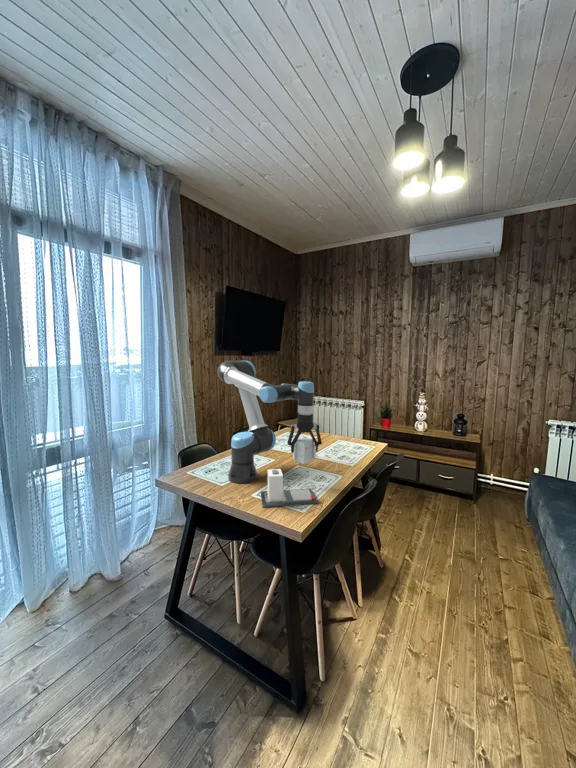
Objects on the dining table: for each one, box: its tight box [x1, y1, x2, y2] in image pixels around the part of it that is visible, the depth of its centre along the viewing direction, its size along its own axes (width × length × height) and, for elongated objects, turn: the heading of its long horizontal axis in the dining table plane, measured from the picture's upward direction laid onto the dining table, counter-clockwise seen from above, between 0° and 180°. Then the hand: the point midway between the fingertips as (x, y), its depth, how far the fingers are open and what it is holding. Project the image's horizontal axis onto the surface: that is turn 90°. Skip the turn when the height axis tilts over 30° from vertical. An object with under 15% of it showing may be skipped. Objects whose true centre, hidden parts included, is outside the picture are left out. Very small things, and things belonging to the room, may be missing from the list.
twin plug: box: [267, 468, 284, 501], centre depth 137 cm, size 6×8×12 cm
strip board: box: [260, 488, 318, 508], centre depth 139 cm, size 24×12×2 cm, turn 99°
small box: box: [294, 437, 315, 465], centre depth 151 cm, size 8×6×10 cm
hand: (304, 458), depth 151 cm, fingers closed on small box, 9 cm apart
